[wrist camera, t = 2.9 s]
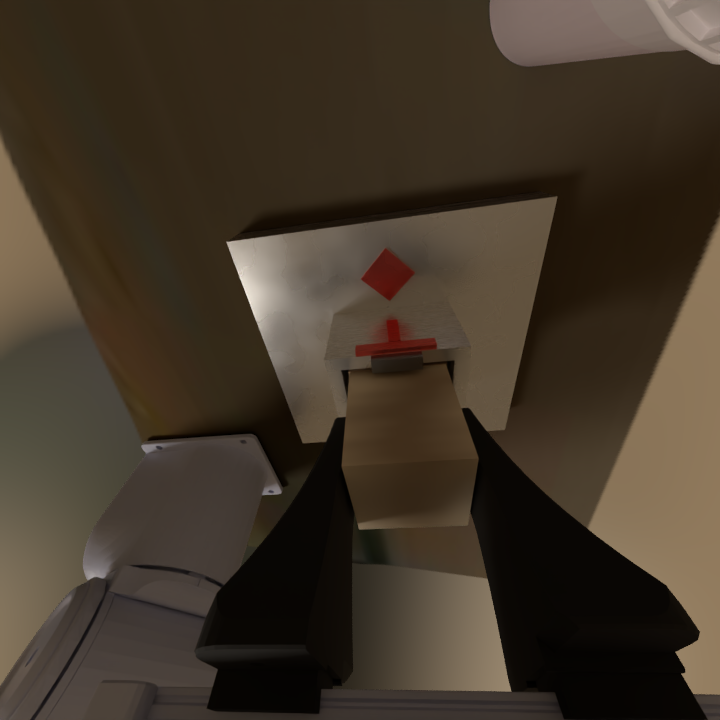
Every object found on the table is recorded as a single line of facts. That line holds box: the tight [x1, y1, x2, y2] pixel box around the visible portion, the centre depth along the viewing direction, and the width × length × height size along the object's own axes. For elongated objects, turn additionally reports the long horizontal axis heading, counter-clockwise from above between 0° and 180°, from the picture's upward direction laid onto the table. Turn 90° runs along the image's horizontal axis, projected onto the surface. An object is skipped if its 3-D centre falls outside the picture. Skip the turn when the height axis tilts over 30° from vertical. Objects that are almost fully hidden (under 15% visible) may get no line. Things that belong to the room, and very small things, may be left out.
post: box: [342, 361, 479, 529], centre depth 13 cm, size 4×4×8 cm
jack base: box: [227, 192, 558, 443], centre depth 15 cm, size 14×14×6 cm
